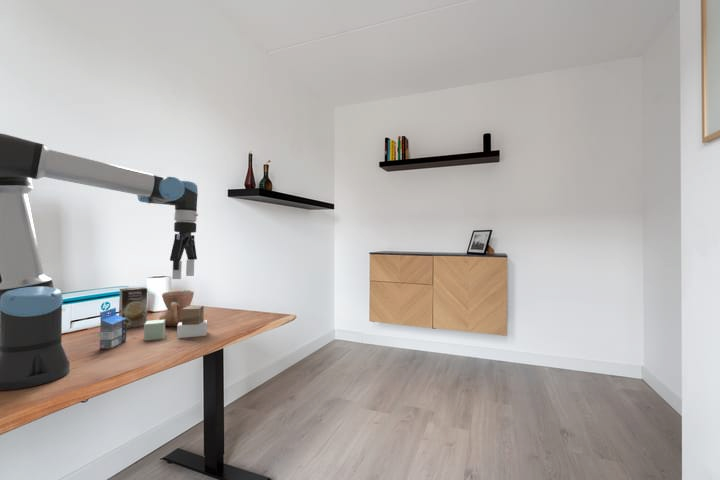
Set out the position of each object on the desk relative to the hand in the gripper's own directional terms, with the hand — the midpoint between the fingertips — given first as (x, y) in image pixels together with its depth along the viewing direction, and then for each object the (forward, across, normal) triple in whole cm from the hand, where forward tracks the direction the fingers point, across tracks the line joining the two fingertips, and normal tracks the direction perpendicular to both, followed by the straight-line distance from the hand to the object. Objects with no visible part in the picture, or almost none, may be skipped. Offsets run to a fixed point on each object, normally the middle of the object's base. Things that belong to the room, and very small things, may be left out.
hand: (183, 277), depth 127 cm
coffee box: (+23, +20, +27) cm, 41 cm away
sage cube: (+23, 0, +10) cm, 25 cm away
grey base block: (+23, +2, -3) cm, 23 cm away
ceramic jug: (+23, +20, +9) cm, 32 cm away
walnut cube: (+18, +2, -3) cm, 18 cm away
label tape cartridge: (+23, -8, +20) cm, 31 cm away
